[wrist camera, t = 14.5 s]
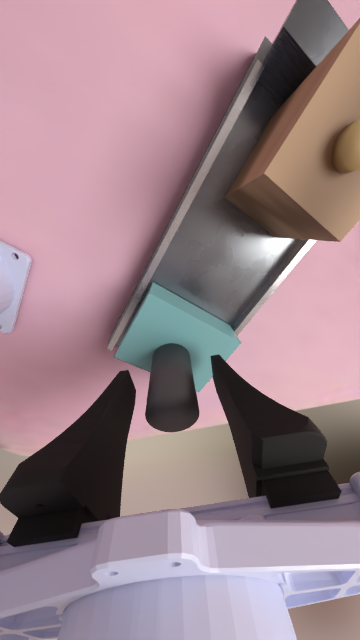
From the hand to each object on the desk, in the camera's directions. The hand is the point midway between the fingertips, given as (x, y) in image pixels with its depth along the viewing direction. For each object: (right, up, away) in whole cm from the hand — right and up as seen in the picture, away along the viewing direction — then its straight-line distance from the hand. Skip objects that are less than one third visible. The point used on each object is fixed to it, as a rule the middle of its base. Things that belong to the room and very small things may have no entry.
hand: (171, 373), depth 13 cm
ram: (0, +3, +4) cm, 5 cm away
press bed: (+4, +9, +3) cm, 10 cm away
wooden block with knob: (+7, +13, -1) cm, 15 cm away
